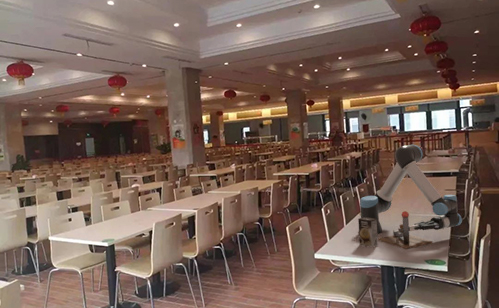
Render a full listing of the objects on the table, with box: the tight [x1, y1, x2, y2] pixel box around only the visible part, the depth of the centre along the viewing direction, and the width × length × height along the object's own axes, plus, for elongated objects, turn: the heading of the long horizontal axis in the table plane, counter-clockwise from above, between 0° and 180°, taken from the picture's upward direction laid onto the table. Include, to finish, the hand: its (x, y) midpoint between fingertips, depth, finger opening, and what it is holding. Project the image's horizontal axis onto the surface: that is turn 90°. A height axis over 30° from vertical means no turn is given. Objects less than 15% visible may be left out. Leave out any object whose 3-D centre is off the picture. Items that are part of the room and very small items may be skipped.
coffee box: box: [357, 217, 379, 248], centre depth 249 cm, size 9×6×16 cm
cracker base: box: [377, 223, 433, 250], centre depth 251 cm, size 20×24×8 cm
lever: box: [392, 211, 410, 244], centre depth 250 cm, size 21×4×19 cm, turn 179°
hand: (409, 228), depth 242 cm, fingers closed
